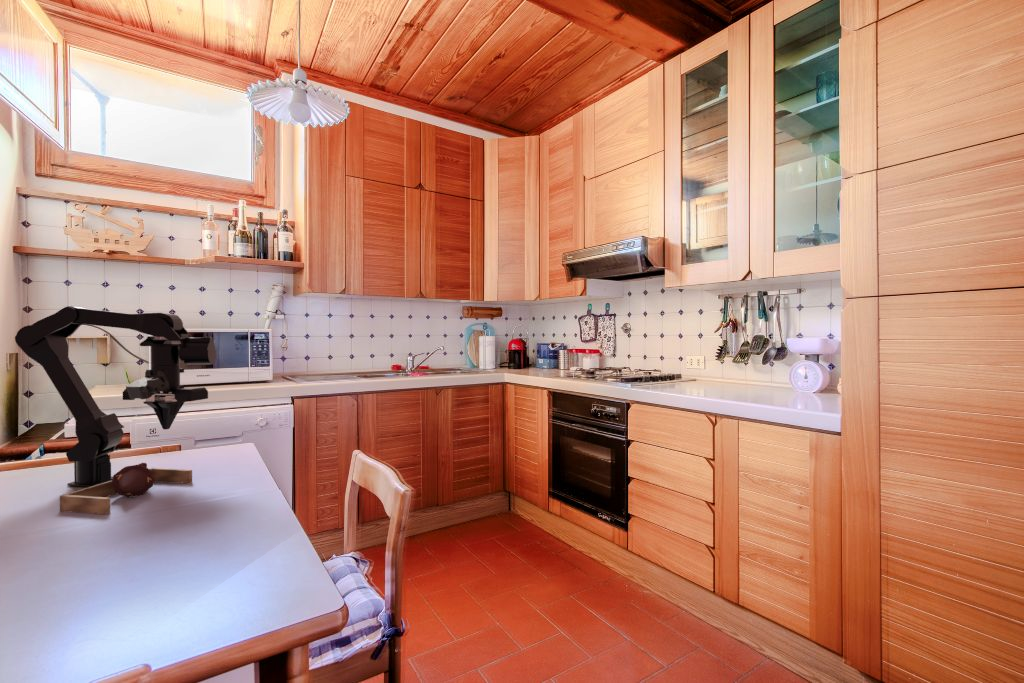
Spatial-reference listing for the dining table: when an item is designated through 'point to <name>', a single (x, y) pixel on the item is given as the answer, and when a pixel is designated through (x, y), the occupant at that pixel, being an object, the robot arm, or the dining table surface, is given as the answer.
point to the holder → (113, 492)
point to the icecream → (133, 480)
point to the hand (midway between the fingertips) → (166, 429)
